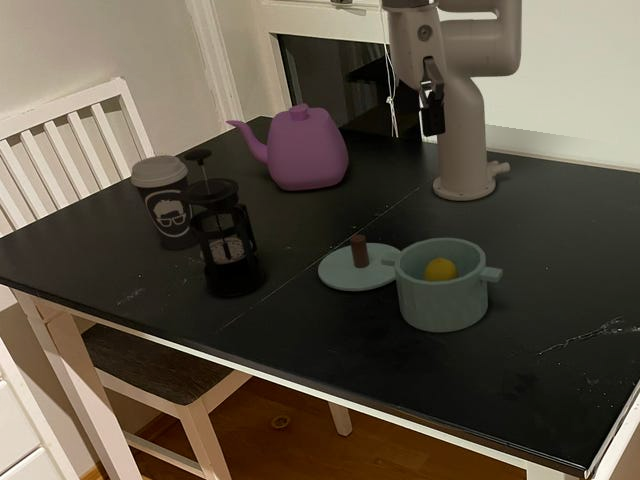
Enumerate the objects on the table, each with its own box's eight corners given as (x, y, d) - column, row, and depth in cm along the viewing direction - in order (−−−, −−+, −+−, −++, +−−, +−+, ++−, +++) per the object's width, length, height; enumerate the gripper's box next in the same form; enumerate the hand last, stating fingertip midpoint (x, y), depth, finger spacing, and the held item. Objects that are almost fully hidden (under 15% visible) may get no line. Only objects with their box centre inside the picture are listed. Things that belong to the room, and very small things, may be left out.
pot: (407, 276, 123) (402, 230, 118) (515, 293, 117) (514, 246, 112) (370, 320, 113) (362, 273, 108) (486, 342, 108) (483, 293, 102)
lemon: (457, 313, 113) (453, 268, 108) (422, 311, 114) (417, 266, 109) (464, 294, 117) (461, 250, 112) (431, 291, 118) (426, 248, 113)
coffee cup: (218, 233, 139) (196, 157, 129) (183, 257, 132) (156, 179, 123) (180, 225, 142) (155, 150, 133) (143, 248, 135) (114, 171, 126)
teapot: (349, 151, 167) (338, 84, 158) (352, 190, 150) (340, 118, 141) (247, 162, 165) (230, 95, 155) (239, 203, 148) (219, 130, 139)
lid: (345, 244, 133) (339, 212, 129) (420, 255, 128) (416, 223, 125) (302, 286, 122) (295, 253, 118) (382, 300, 118) (377, 267, 114)
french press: (241, 304, 119) (201, 169, 105) (193, 295, 122) (148, 163, 107) (280, 267, 127) (248, 138, 113) (235, 260, 130) (198, 133, 116)
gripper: (462, 2, 90) (470, 138, 100) (413, -22, 102) (424, 101, 113) (404, 11, 88) (418, 149, 98) (361, -15, 100) (378, 110, 111)
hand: (421, 123), depth 106 cm, fingers open, 9 cm apart
